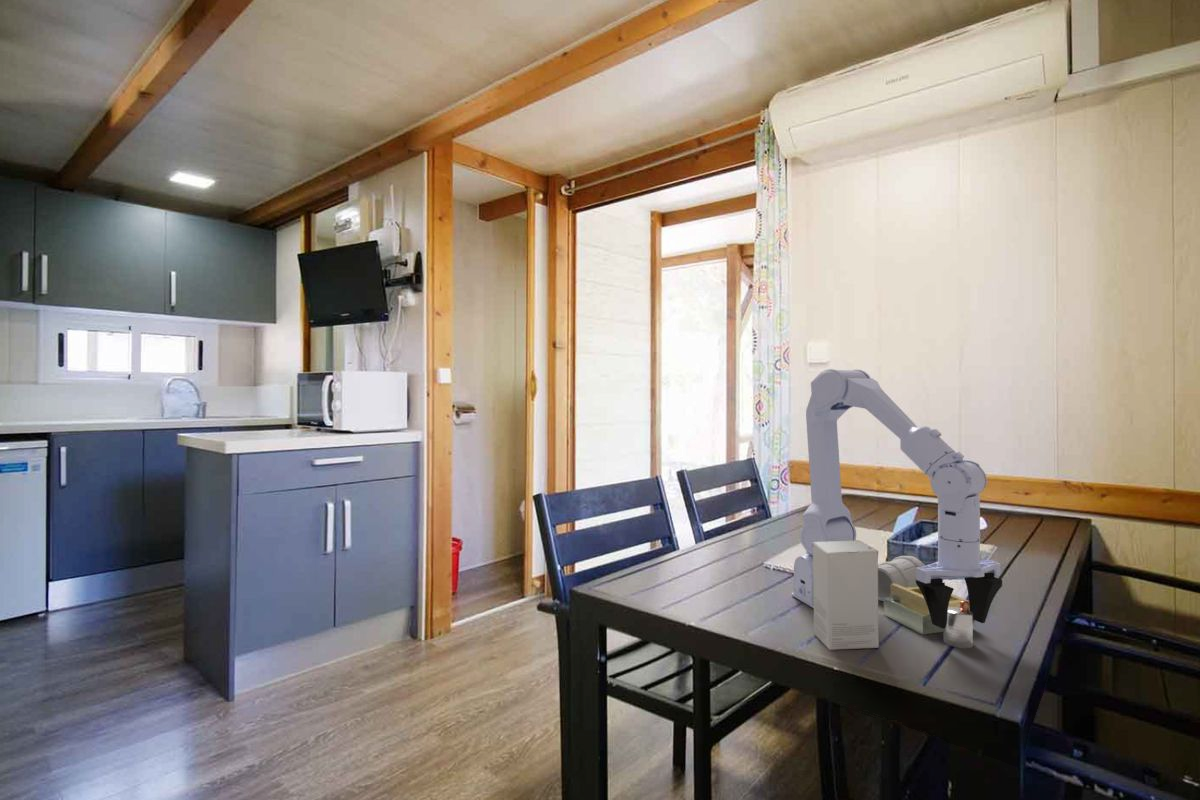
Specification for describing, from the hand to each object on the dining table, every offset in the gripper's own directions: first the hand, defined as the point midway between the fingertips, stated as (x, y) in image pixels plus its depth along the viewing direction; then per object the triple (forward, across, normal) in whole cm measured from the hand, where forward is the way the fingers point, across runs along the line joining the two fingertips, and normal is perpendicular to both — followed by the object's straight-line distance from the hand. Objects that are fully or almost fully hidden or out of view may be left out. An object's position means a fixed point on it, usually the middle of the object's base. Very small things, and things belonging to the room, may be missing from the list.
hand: (958, 623), depth 95 cm
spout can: (+3, 0, 0) cm, 3 cm away
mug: (0, +10, +23) cm, 25 cm away
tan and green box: (+3, +2, +9) cm, 9 cm away
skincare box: (+3, -17, +5) cm, 18 cm away
